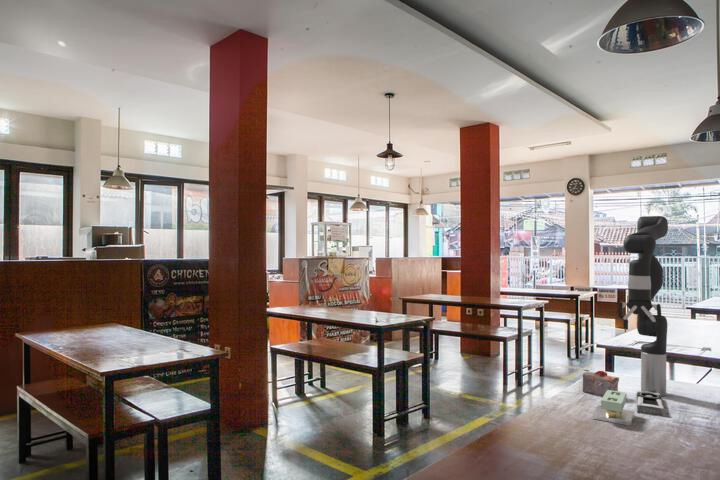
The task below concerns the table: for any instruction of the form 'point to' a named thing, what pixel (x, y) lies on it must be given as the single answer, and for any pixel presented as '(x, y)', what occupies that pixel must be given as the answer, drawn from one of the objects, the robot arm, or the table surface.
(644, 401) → the graphics card
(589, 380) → the food item
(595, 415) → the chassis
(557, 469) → the table surface
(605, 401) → the board
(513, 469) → the table surface
